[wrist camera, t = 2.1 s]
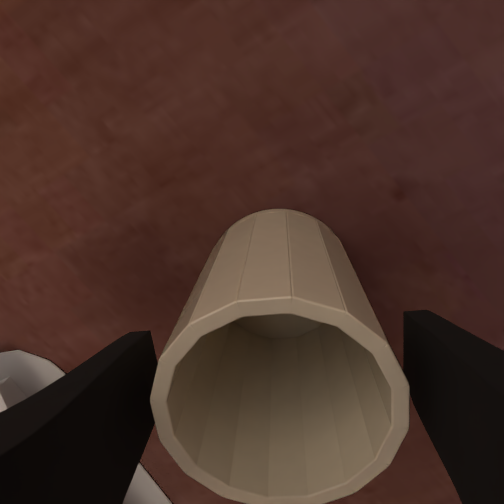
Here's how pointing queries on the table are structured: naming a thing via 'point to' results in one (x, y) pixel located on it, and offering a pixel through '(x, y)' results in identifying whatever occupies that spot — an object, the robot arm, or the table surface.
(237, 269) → the cup
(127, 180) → the table surface
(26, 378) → the grey flat block
